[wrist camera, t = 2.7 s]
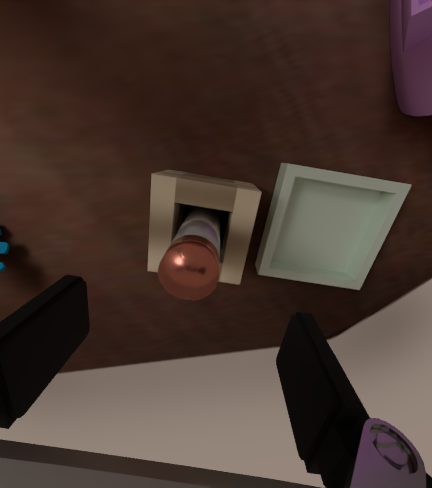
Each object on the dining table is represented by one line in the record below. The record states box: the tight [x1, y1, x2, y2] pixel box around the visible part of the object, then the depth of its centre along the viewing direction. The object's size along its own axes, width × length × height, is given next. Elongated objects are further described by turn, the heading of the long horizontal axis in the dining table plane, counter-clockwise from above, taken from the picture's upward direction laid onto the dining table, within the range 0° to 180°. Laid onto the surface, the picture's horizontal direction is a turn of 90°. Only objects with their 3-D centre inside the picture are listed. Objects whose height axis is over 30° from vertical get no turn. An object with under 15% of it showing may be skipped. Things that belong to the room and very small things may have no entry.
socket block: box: [148, 169, 262, 285], centre depth 22 cm, size 9×9×6 cm
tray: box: [255, 163, 411, 290], centre depth 23 cm, size 12×12×2 cm
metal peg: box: [158, 206, 221, 300], centre depth 19 cm, size 4×4×13 cm
